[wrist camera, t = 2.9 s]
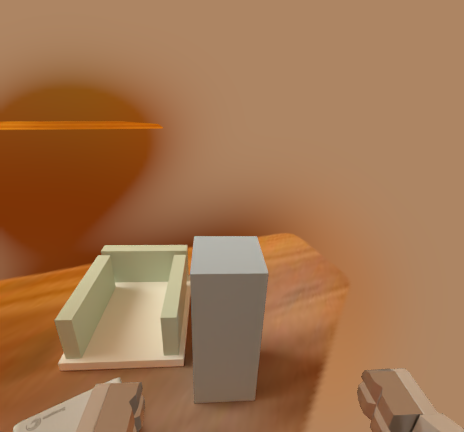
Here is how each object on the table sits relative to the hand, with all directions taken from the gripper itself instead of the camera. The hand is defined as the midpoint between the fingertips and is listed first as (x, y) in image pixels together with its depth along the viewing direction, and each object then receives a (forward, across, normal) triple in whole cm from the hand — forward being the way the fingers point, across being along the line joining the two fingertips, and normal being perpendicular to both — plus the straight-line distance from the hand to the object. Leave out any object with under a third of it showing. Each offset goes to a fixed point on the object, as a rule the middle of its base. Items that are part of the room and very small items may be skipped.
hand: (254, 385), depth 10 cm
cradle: (+20, +10, +16) cm, 28 cm away
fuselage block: (+12, 0, +16) cm, 20 cm away
